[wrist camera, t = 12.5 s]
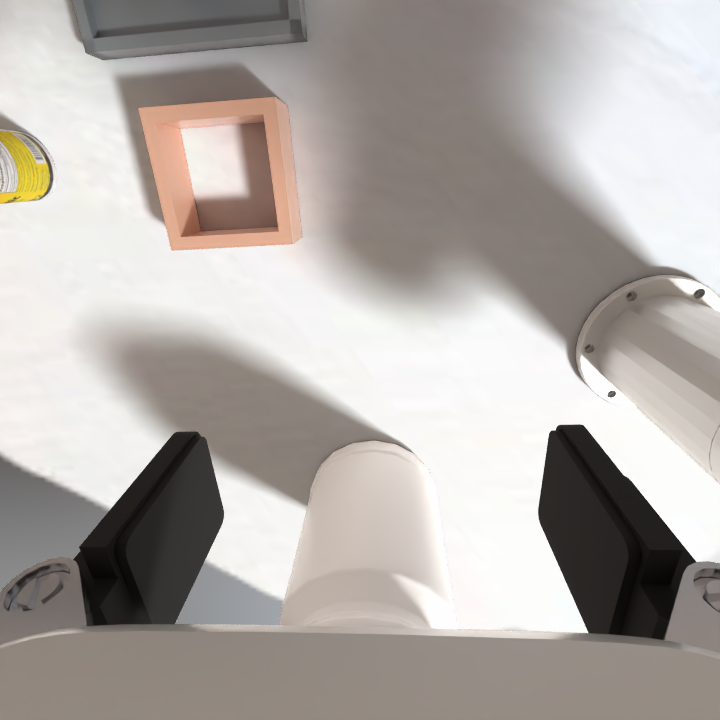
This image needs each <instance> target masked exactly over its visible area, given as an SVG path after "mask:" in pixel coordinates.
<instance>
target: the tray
mask: <svg viewBox="0 0 720 720" xmlns="http://www.w3.org/2000/svg"><path fill="white" fill-rule="evenodd" d="M72 3H73V7H74V11H75V14H76V18H77V22H78V26H79V29H80V33H81V37H82V41H83V44H84V48H85V52H86V53H87V54H90V55H92V56H94V57H97V58H99V59H102V60H109V59H119V58H130V57H141V56H152V55H163V54H174V53H185V52H196V51H206V50H217V49H228V48H239V47H250V46H261V45H272V44H282V43H293V42H304V41H307V33H306V22H305V11H304V0H72Z"/></svg>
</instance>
